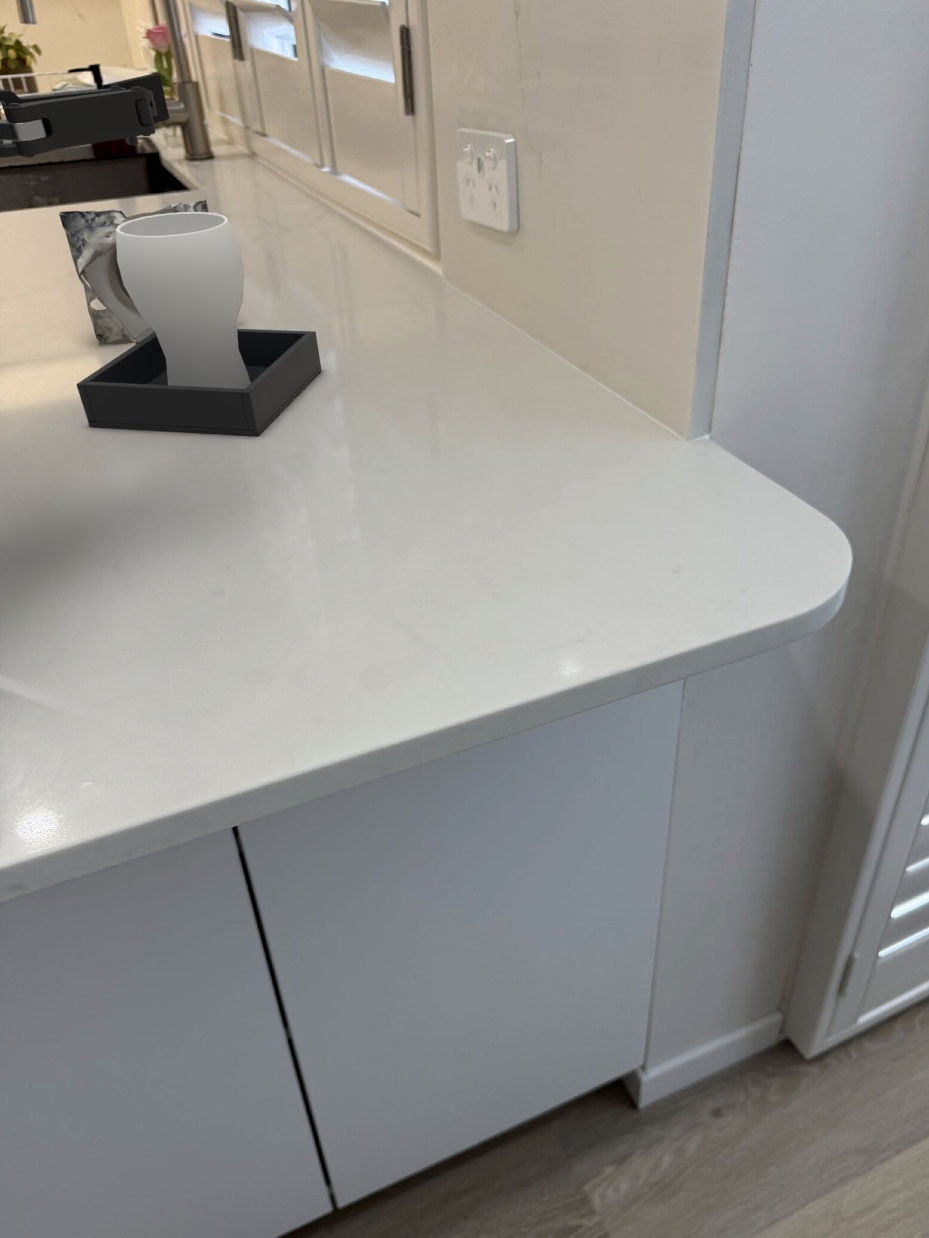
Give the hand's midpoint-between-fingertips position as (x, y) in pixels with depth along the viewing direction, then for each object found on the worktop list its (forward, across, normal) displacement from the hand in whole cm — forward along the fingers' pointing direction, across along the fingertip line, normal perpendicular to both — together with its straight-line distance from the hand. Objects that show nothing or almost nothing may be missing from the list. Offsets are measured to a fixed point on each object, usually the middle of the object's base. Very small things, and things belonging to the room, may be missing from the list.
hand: (73, 97), depth 68 cm
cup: (+10, 0, -26) cm, 27 cm away
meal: (+28, -14, -26) cm, 41 cm away
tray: (+10, 0, -26) cm, 28 cm away
